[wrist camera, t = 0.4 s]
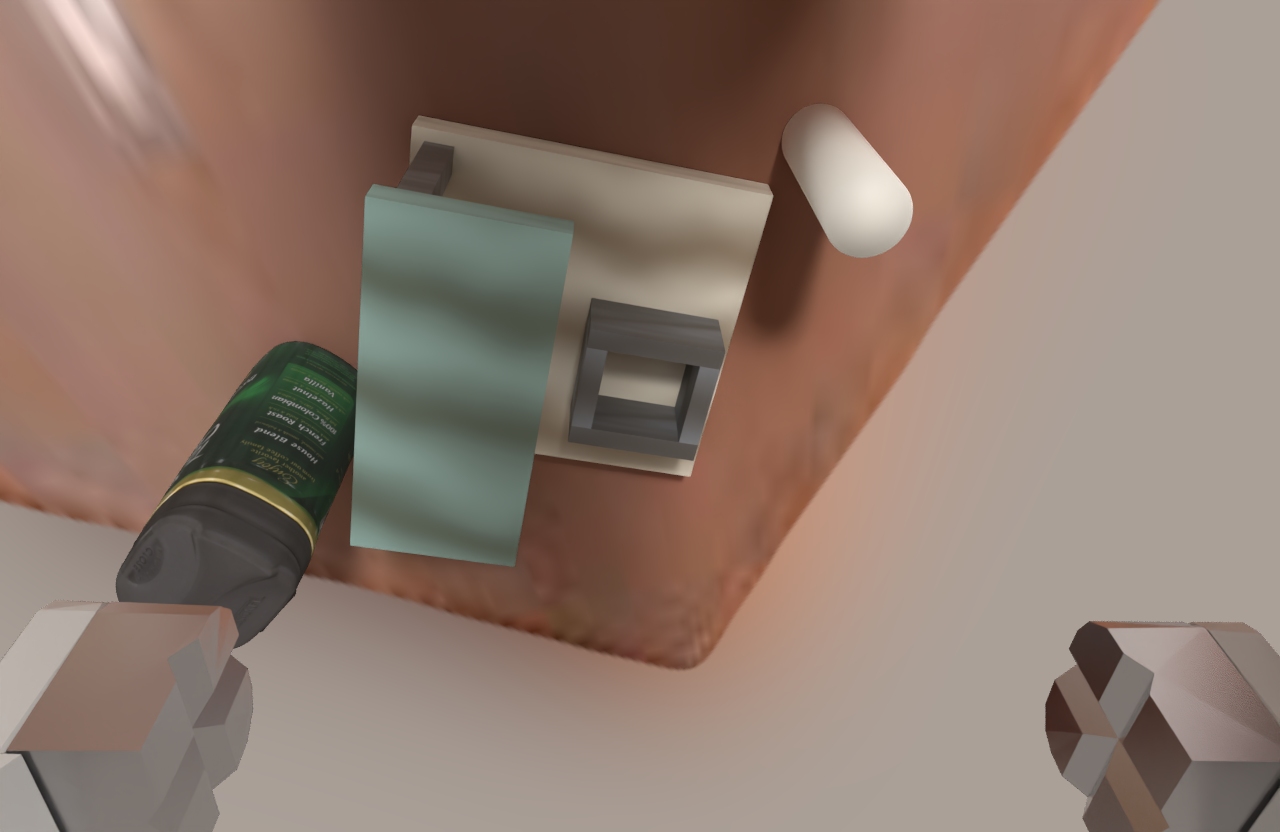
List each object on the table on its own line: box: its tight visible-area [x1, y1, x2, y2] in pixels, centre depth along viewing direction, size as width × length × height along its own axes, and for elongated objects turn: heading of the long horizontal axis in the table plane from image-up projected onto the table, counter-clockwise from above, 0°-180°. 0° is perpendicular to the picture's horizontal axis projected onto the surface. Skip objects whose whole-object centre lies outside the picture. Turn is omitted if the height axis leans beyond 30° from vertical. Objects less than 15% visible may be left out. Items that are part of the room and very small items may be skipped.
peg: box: [781, 104, 913, 258], centre depth 46 cm, size 4×4×12 cm
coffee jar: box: [116, 341, 358, 649], centre depth 51 cm, size 10×8×19 cm
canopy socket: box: [350, 115, 773, 567], centre depth 50 cm, size 20×20×13 cm
